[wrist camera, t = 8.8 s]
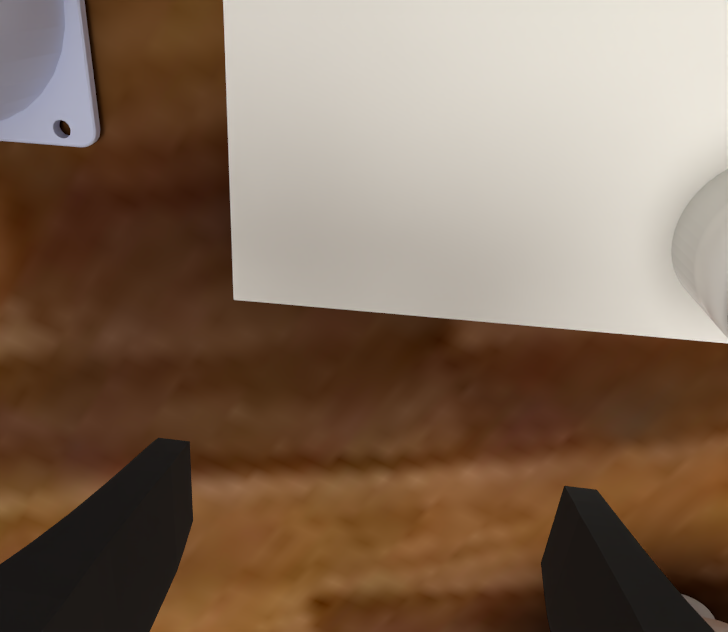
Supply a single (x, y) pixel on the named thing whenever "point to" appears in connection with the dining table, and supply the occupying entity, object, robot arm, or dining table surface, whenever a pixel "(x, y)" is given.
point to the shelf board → (474, 156)
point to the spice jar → (705, 249)
